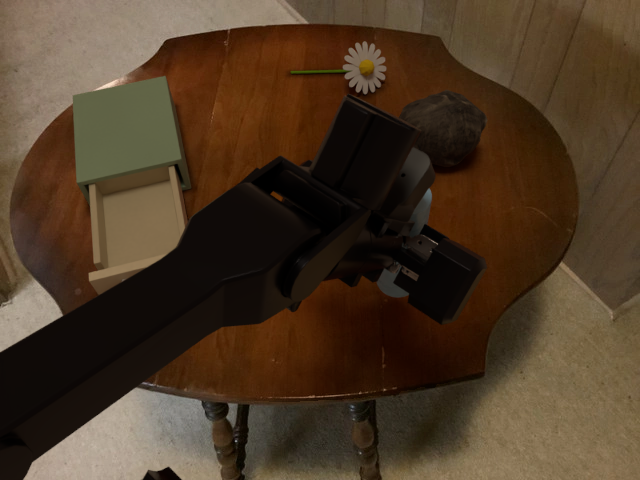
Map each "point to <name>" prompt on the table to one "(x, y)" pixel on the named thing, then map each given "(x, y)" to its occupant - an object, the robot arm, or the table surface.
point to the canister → (420, 219)
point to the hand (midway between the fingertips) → (409, 235)
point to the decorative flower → (360, 68)
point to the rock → (445, 126)
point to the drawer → (134, 223)
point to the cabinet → (126, 132)
